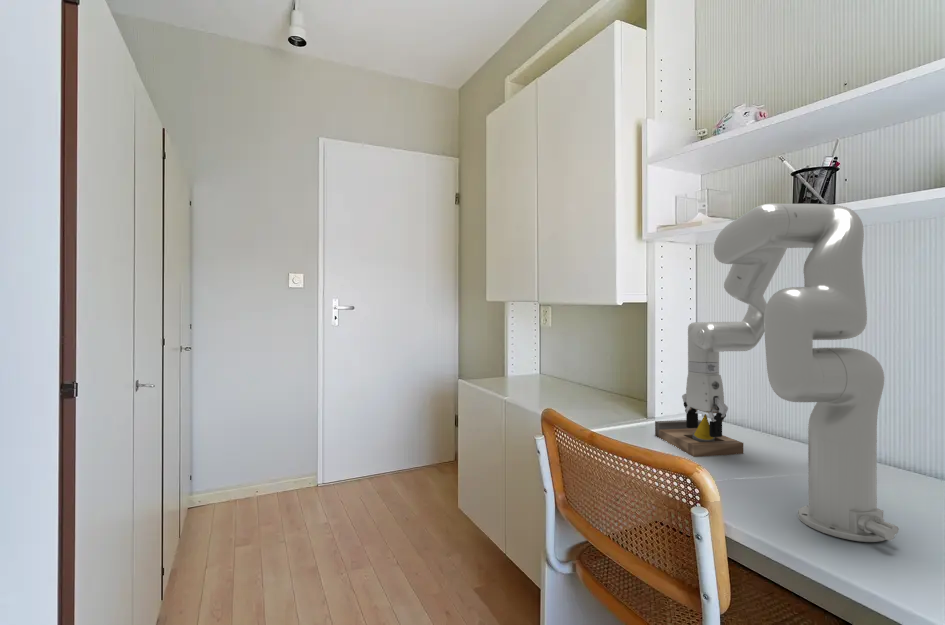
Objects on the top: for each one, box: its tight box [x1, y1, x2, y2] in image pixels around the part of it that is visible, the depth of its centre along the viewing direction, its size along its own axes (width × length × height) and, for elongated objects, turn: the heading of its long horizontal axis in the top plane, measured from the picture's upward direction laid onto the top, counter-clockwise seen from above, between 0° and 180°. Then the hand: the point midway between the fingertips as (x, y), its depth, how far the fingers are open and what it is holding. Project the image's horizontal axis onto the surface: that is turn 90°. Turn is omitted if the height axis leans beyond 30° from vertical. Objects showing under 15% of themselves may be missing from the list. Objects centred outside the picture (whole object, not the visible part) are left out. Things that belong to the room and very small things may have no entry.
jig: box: [654, 419, 744, 458], centre depth 127 cm, size 18×14×5 cm
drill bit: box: [692, 413, 715, 442], centre depth 123 cm, size 5×5×10 cm
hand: (703, 431), depth 124 cm, fingers open, 9 cm apart
